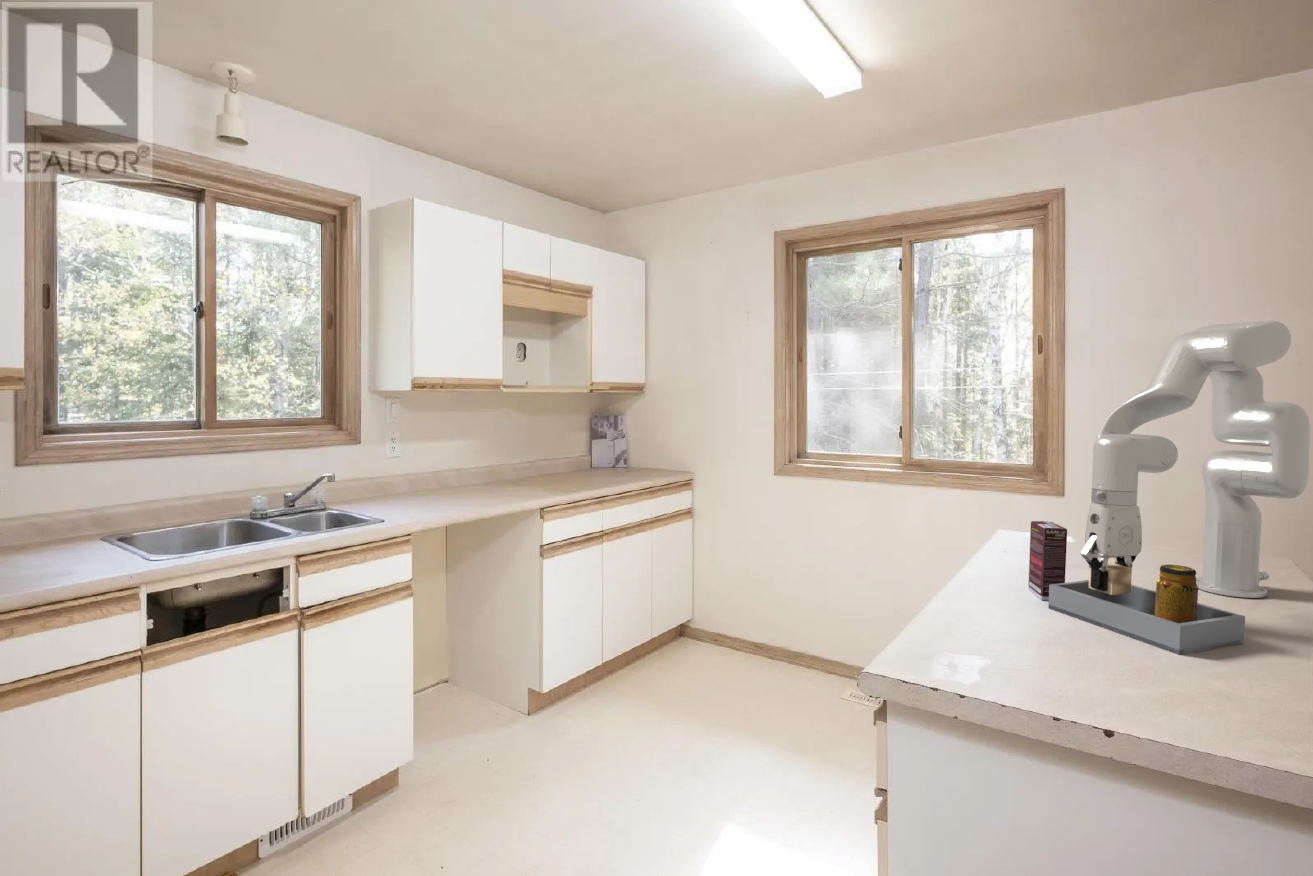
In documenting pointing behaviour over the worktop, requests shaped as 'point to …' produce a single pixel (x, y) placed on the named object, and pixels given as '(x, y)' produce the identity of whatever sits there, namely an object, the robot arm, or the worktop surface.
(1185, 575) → the condiment
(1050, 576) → the supplement box
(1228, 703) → the worktop surface
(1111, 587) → the cube
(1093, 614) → the tote
